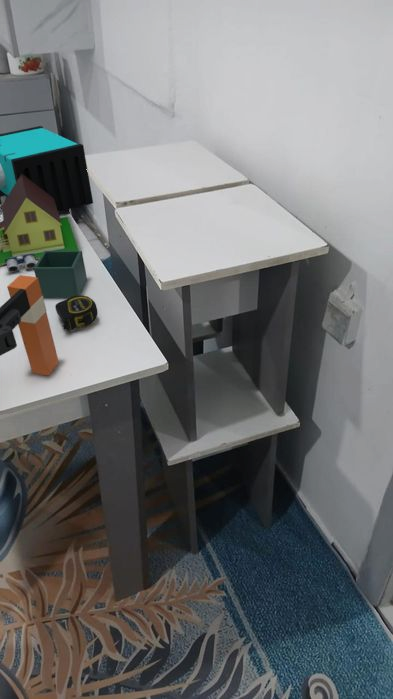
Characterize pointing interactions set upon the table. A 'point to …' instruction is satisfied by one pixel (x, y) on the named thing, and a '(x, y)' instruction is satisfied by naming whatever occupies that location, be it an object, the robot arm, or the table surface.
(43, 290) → the open box
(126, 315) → the table surface
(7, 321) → the robot arm
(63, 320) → the tape measure
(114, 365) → the table surface
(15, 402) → the table surface
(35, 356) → the block
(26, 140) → the electronic device
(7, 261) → the ultrasonic sensor
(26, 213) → the house model
